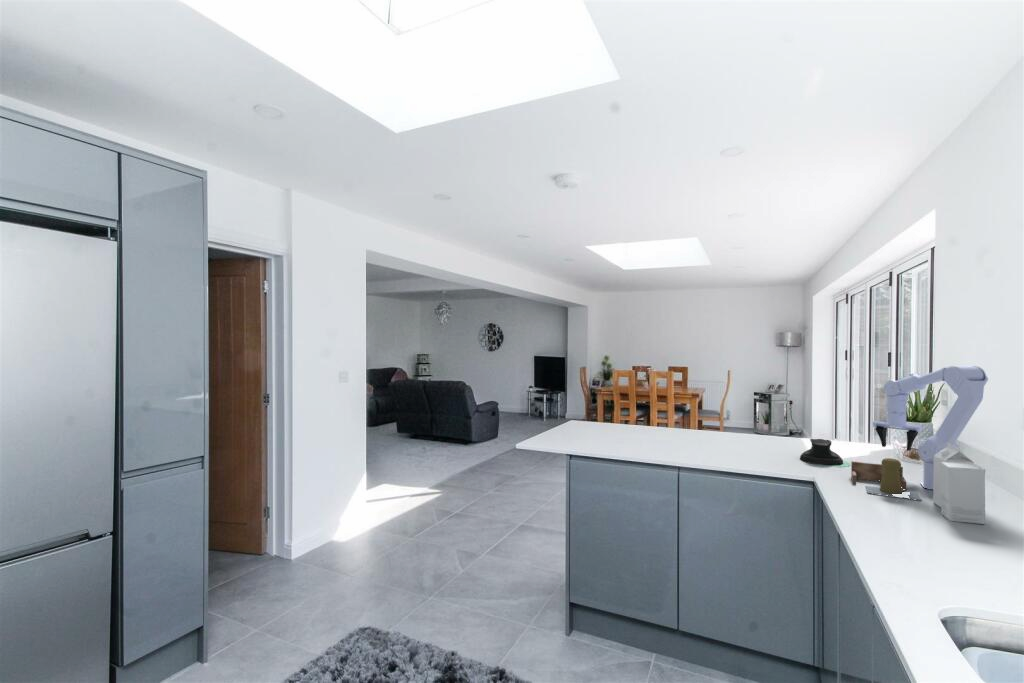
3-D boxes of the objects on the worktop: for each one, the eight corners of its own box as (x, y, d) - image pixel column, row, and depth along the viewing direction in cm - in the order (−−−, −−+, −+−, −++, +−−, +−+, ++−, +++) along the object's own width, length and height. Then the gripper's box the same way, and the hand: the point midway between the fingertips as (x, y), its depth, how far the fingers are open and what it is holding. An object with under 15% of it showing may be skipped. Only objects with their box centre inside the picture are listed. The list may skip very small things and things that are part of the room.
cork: (906, 494, 163) (907, 461, 162) (887, 494, 163) (888, 460, 163) (893, 489, 169) (894, 456, 169) (875, 488, 169) (875, 456, 169)
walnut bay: (902, 483, 177) (902, 466, 177) (906, 490, 168) (906, 473, 168) (851, 477, 185) (851, 461, 185) (852, 483, 176) (853, 466, 176)
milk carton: (960, 505, 154) (961, 444, 154) (973, 512, 147) (974, 448, 147) (932, 502, 156) (933, 442, 156) (944, 510, 149) (944, 447, 149)
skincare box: (976, 518, 143) (976, 464, 143) (986, 525, 137) (987, 469, 137) (939, 513, 146) (939, 460, 146) (948, 521, 140) (948, 466, 140)
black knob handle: (784, 456, 219) (785, 435, 219) (827, 456, 220) (827, 435, 220) (815, 468, 199) (815, 445, 199) (862, 467, 200) (862, 444, 200)
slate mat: (917, 493, 165) (917, 492, 165) (921, 501, 157) (921, 499, 157) (865, 486, 172) (865, 485, 172) (867, 493, 165) (867, 492, 165)
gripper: (870, 410, 191) (869, 446, 191) (917, 415, 179) (917, 453, 179) (876, 409, 195) (876, 443, 195) (923, 414, 183) (922, 450, 183)
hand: (896, 448), depth 187 cm, fingers open, 7 cm apart
